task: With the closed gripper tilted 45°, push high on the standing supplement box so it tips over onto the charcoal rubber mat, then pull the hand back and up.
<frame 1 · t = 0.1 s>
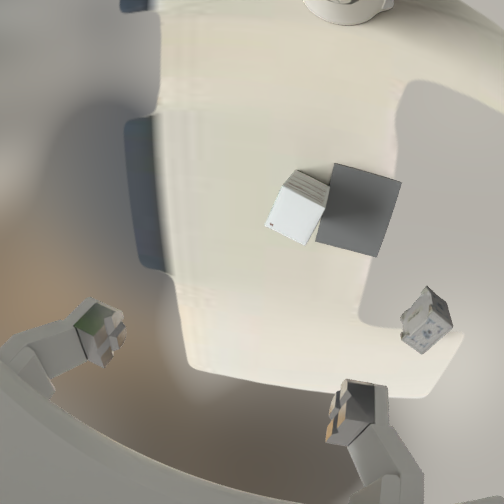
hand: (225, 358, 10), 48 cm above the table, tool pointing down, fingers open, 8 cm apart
mat: (357, 212, 54), on the table
supplement box: (305, 193, 55), on the table, touching mat
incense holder: (420, 305, 60), on the table
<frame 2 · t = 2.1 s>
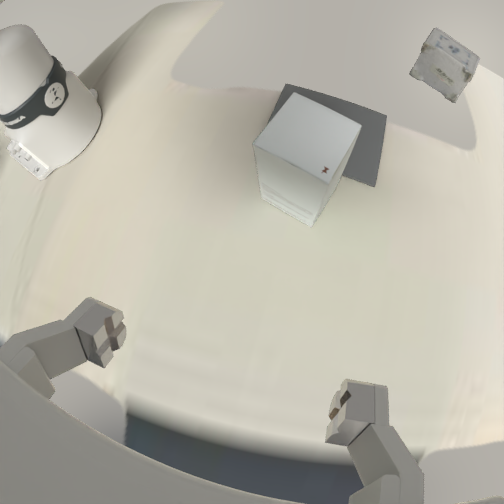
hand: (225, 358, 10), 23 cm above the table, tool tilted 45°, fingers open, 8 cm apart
mat: (327, 129, 38), on the table
supplement box: (300, 190, 36), on the table, touching mat
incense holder: (434, 84, 41), on the table
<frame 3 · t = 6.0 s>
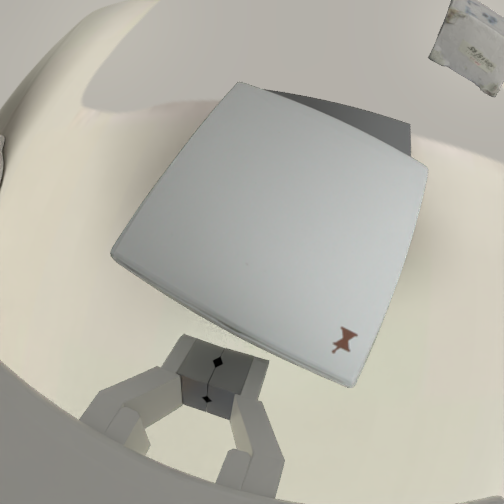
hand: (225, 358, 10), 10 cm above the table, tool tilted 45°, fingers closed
mat: (313, 159, 22), on the table
supplement box: (267, 286, 20), on the table, touching mat
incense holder: (462, 71, 25), on the table
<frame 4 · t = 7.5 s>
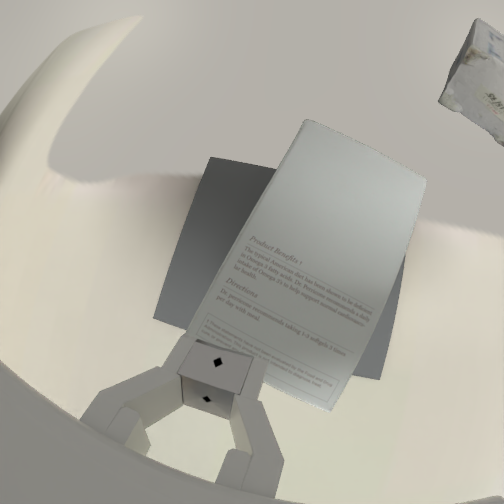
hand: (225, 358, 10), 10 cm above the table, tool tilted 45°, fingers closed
mat: (290, 260, 21), on the table
supplement box: (254, 372, 15), point 4 cm above the table, touching mat
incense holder: (476, 115, 23), on the table
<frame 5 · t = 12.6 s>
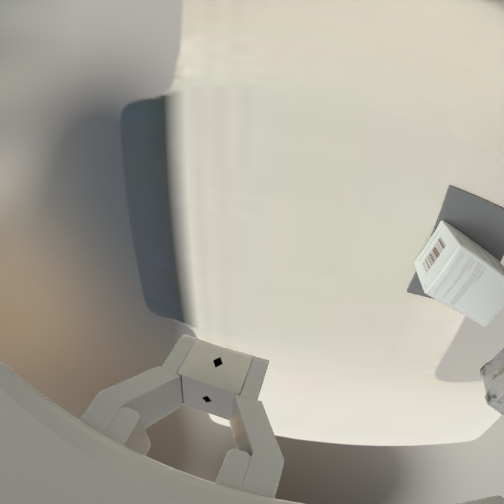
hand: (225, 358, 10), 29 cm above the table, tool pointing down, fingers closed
mat: (466, 253, 33), on the table
supplement box: (432, 252, 31), point 4 cm above the table, touching mat
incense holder: (501, 355, 39), on the table
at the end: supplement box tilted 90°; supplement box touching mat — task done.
